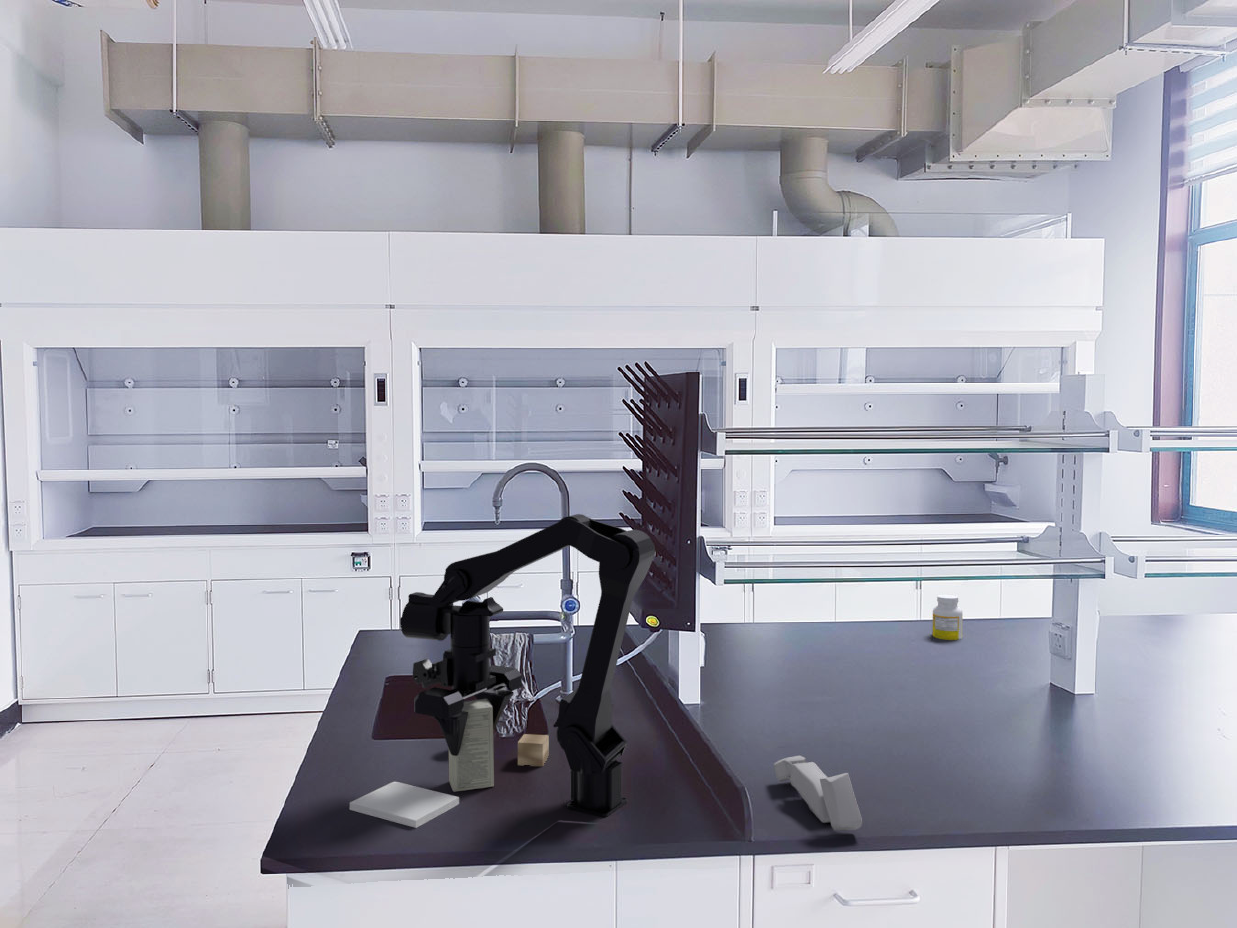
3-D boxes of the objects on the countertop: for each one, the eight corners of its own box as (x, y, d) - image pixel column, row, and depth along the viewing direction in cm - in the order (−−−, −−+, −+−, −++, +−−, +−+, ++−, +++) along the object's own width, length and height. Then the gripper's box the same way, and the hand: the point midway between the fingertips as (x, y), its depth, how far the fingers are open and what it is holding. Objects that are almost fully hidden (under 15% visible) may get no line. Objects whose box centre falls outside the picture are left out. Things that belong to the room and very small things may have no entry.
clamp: (864, 833, 124) (863, 781, 124) (838, 837, 123) (838, 784, 123) (796, 784, 144) (795, 739, 144) (773, 786, 143) (772, 741, 143)
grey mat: (459, 804, 135) (459, 797, 135) (416, 827, 127) (416, 820, 127) (394, 787, 141) (394, 781, 140) (349, 809, 133) (349, 802, 133)
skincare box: (489, 777, 145) (488, 697, 144) (494, 787, 141) (494, 706, 140) (447, 781, 143) (446, 701, 142) (451, 792, 139) (451, 710, 138)
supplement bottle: (941, 645, 230) (942, 592, 229) (967, 651, 225) (968, 596, 224) (926, 650, 225) (927, 596, 225) (952, 655, 220) (953, 600, 220)
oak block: (548, 760, 152) (548, 735, 152) (542, 769, 149) (542, 743, 148) (524, 758, 153) (524, 733, 153) (517, 767, 149) (517, 742, 149)
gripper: (466, 625, 153) (466, 721, 154) (384, 649, 137) (385, 757, 137) (523, 633, 147) (524, 732, 148) (445, 659, 131) (446, 771, 132)
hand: (470, 747), depth 142 cm, fingers closed on skincare box, 7 cm apart
